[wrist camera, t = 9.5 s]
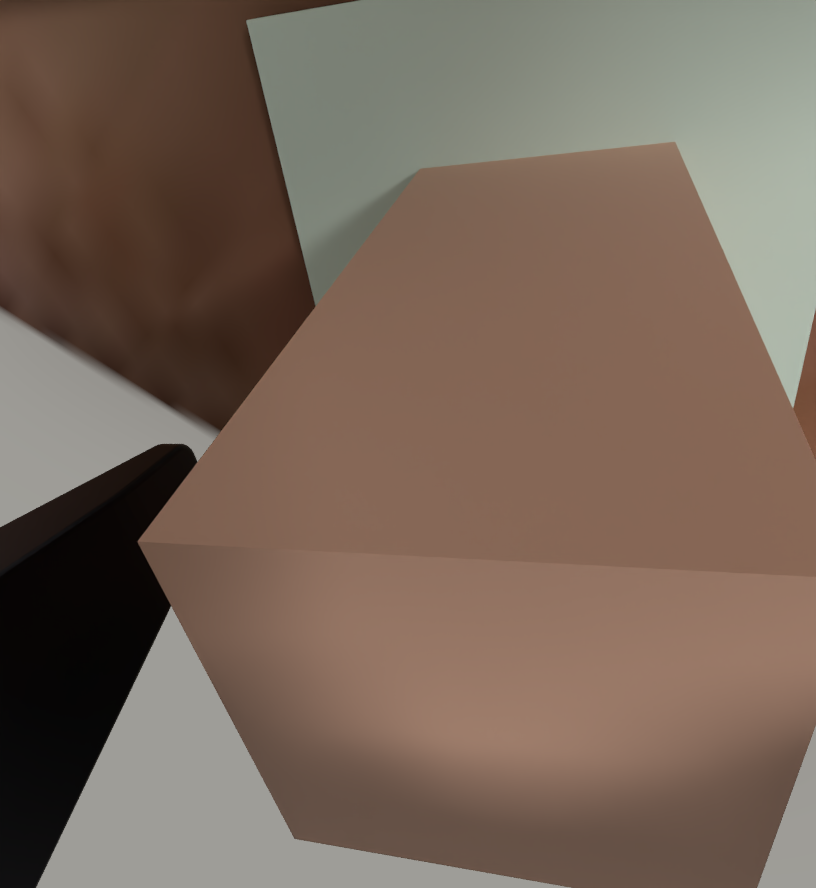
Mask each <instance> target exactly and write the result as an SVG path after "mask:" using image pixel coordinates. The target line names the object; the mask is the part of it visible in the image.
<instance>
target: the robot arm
mask: <svg viewBox="0 0 816 888" xmlns="http://www.w3.org/2000/svg"><path fill="white" fill-rule="evenodd" d="M196 464H197V460H196V458H195V456H194V453H193V451H192V450H191V449H190V448H189V447H188V446H187V445H184V444H160V445H157V446H154V447H153V448H151V449H149V450H147V451H145V452H143V453H141V454H140V455H137V456H135V457H134V458H132V459H130V460H128V461H126V462H124V463H122V464H120V465H118V466H116V467H114V468H113V469H111V470H109V471H107V472H105V473H103V474H101V475H99V476H98V477H95V478H94V479H92V480H90V481H88V482H86V483H84V484H82V485H80V486H78V487H76V488H74V489H72V490H71V491H69V492H67V493H65V494H63V495H61V496H59V497H57V498H55V499H53V500H52V501H50V502H48V503H46V504H44V505H42V506H40V507H38V508H36V509H34V510H32V511H30V512H29V513H27V514H25V515H23V516H21V517H19V518H17V519H15V520H13V521H12V522H10V523H8V524H6V525H4V526H2V527H0V888H36V886H37V884H38V882H39V880H40V878H41V876H42V874H43V872H44V870H45V868H46V866H47V864H48V862H49V859H50V857H51V855H52V853H53V851H54V849H55V847H56V845H57V843H58V841H59V839H60V836H61V834H62V832H63V830H64V828H65V826H66V824H67V822H68V820H69V818H70V816H71V814H72V812H73V809H74V807H75V805H76V803H77V801H78V799H79V797H80V795H81V793H82V791H83V788H84V786H85V784H86V782H87V780H88V778H89V776H90V774H91V772H92V770H93V768H94V766H95V763H96V762H97V759H98V757H99V755H100V753H101V751H102V749H103V747H104V745H105V743H106V741H107V739H108V736H109V734H110V732H111V730H112V728H113V726H114V724H115V722H116V720H117V718H118V716H119V714H120V711H121V709H122V707H123V705H124V703H125V701H126V699H127V697H128V695H129V692H130V691H131V689H132V686H133V684H134V682H135V680H136V678H137V676H138V674H139V672H140V670H141V668H142V666H143V663H144V661H145V659H146V657H147V655H148V653H149V651H150V649H151V647H152V645H153V643H154V640H155V639H156V636H157V634H158V632H159V630H160V628H161V626H162V624H163V622H164V620H165V617H166V615H167V613H168V611H169V609H170V607H171V604H170V602H169V601H168V599H167V597H166V595H165V593H164V591H163V589H162V587H161V585H160V584H159V582H158V580H157V578H156V576H155V574H154V572H153V570H152V568H151V567H150V565H149V563H148V561H147V559H146V557H145V555H144V553H143V551H142V550H141V548H140V546H139V544H138V540H139V539H140V538H141V536H142V535H143V534H144V532H145V531H146V530H147V528H148V527H149V526H150V524H151V523H152V522H153V520H154V519H155V518H156V516H157V515H158V514H159V512H160V511H161V510H162V509H163V507H164V506H165V505H166V503H167V502H168V501H169V499H170V498H171V497H172V495H173V494H174V493H175V491H176V490H177V489H178V487H179V486H180V485H181V483H182V482H183V481H184V479H185V478H186V477H187V476H188V474H189V473H190V472H191V470H192V469H193V468H194V466H195V465H196Z"/></svg>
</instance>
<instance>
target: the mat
mask: <svg viewBox="0 0 816 888" xmlns="http://www.w3.org/2000/svg"><path fill="white" fill-rule="evenodd" d="M246 22H247V26H248V30H249V34H250V38H251V43H252V47H253V51H254V55H255V59H256V63H257V67H258V71H259V76H260V80H261V84H262V88H263V92H264V96H265V100H266V104H267V109H268V113H269V117H270V121H271V125H272V129H273V133H274V137H275V141H276V146H277V150H278V154H279V158H280V162H281V166H282V170H283V174H284V179H285V183H286V187H287V191H288V195H289V199H290V203H291V207H292V211H293V216H294V220H295V224H296V228H297V232H298V236H299V240H300V244H301V249H302V253H303V257H304V261H305V265H306V269H307V273H308V277H309V281H310V286H311V290H312V294H313V298H314V302H315V306H316V305H317V304H318V303H319V301H320V300H321V299H322V297H323V296H324V295H325V293H326V292H327V291H328V289H329V288H330V287H331V286H332V284H333V283H334V282H335V280H336V279H337V278H338V276H339V275H340V274H341V272H342V271H343V270H344V268H345V267H346V266H347V264H348V263H349V262H350V260H351V259H352V258H353V257H354V255H355V254H356V253H357V251H358V250H359V249H360V247H361V246H362V245H363V243H364V242H365V241H366V239H367V238H368V237H369V235H370V234H371V233H372V231H373V230H374V229H375V227H376V226H377V225H378V224H379V222H380V221H381V220H382V218H383V217H384V216H385V214H386V213H387V212H388V210H389V209H390V208H391V206H392V205H393V204H394V202H395V201H396V200H397V198H398V197H399V196H400V195H401V193H402V192H403V191H404V189H405V188H406V187H407V185H408V184H409V183H410V181H411V180H412V179H413V177H414V176H415V175H416V173H417V172H418V171H419V169H422V168H432V167H441V166H451V165H460V164H469V163H479V162H488V161H498V160H507V159H517V158H526V157H535V156H545V155H554V154H564V153H573V152H583V151H592V150H602V149H611V148H620V147H630V146H639V145H649V144H658V143H668V142H675V143H676V145H677V147H678V149H679V152H680V154H681V156H682V158H683V161H684V163H685V165H686V167H687V170H688V172H689V174H690V177H691V179H692V181H693V183H694V186H695V188H696V190H697V192H698V195H699V197H700V199H701V201H702V204H703V206H704V208H705V211H706V213H707V215H708V217H709V220H710V222H711V224H712V226H713V229H714V231H715V233H716V236H717V238H718V240H719V242H720V245H721V247H722V249H723V251H724V254H725V256H726V258H727V260H728V263H729V265H730V267H731V270H732V272H733V274H734V276H735V279H736V281H737V283H738V285H739V288H740V290H741V292H742V294H743V297H744V299H745V301H746V304H747V306H748V308H749V310H750V313H751V315H752V317H753V319H754V322H755V324H756V326H757V328H758V331H759V333H760V335H761V338H762V340H763V342H764V344H765V347H766V349H767V351H768V353H769V356H770V358H771V360H772V363H773V365H774V367H775V369H776V372H777V374H778V376H779V378H780V381H781V383H782V385H783V387H784V390H785V392H786V394H787V397H788V399H789V401H790V403H791V406H792V408H793V407H794V402H795V398H796V393H797V389H798V384H799V380H800V376H801V371H802V367H803V362H804V358H805V353H806V349H807V344H808V340H809V336H810V331H811V327H812V322H813V318H814V313H815V309H816V0H358V1H352V2H347V3H341V4H335V5H329V6H324V7H318V8H312V9H306V10H301V11H295V12H289V13H283V14H278V15H272V16H266V17H260V18H255V19H250V20H246Z"/></svg>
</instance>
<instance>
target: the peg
mask: <svg viewBox="0 0 816 888" xmlns="http://www.w3.org/2000/svg"><path fill="white" fill-rule="evenodd" d="M138 544H139V546H140V548H141V550H142V551H143V553H144V555H145V557H146V559H147V561H148V563H149V565H150V567H151V568H152V570H153V572H154V574H155V576H156V578H157V580H158V582H159V584H160V585H161V587H162V589H163V591H164V593H165V595H166V597H167V599H168V601H169V602H170V604H171V606H172V608H173V610H174V612H175V614H176V616H177V618H178V619H179V621H180V623H181V625H182V627H183V629H184V631H185V633H186V635H187V636H188V638H189V640H190V642H191V644H192V646H193V648H194V650H195V652H196V653H197V655H198V657H199V659H200V661H201V663H202V665H203V667H204V668H205V670H206V672H207V674H208V676H209V678H210V680H211V681H212V684H213V685H214V687H215V689H216V691H217V693H218V695H219V697H220V699H221V700H222V703H223V704H224V706H225V708H226V710H227V712H228V714H229V716H230V717H231V719H232V721H233V723H234V725H235V727H236V729H237V731H238V733H239V734H240V736H241V738H242V740H243V742H244V744H245V746H246V748H247V750H248V752H249V754H250V755H251V757H252V759H253V761H254V763H255V765H256V767H257V769H258V770H259V772H260V774H261V776H262V778H263V780H264V782H265V784H266V786H267V788H268V789H269V791H270V793H271V795H272V797H273V799H274V801H275V803H276V804H277V806H278V808H279V810H280V812H281V814H282V816H283V818H284V820H285V822H286V823H287V825H288V827H289V829H290V831H291V833H292V835H293V837H294V838H295V839H299V840H304V841H310V842H316V843H321V844H327V845H333V846H339V847H344V848H350V849H356V850H361V851H367V852H372V853H378V854H384V855H390V856H395V857H401V858H407V859H412V860H418V861H424V862H429V863H436V864H441V865H447V866H452V867H458V868H463V869H469V870H475V871H480V872H486V873H492V874H497V875H504V876H509V877H514V878H521V879H526V880H532V881H537V882H543V883H549V884H555V885H560V886H565V887H571V888H757V886H758V883H759V881H760V878H761V875H762V872H763V870H764V867H765V864H766V861H767V859H768V856H769V853H770V850H771V848H772V845H773V842H774V839H775V837H776V834H777V831H778V828H779V825H780V823H781V820H782V817H783V814H784V811H785V809H786V806H787V803H788V801H789V798H790V795H791V792H792V789H793V787H794V784H795V781H796V778H797V776H798V773H799V770H800V767H801V765H802V762H803V759H804V756H805V754H806V751H807V748H808V745H809V742H810V740H811V737H812V734H813V731H814V728H815V726H816V460H815V458H814V455H813V453H812V451H811V449H810V446H809V444H808V442H807V440H806V437H805V435H804V433H803V431H802V428H801V426H800V424H799V421H798V419H797V417H796V415H795V412H794V410H793V408H792V406H791V403H790V401H789V399H788V397H787V394H786V392H785V390H784V387H783V385H782V383H781V381H780V378H779V376H778V374H777V372H776V369H775V367H774V365H773V363H772V360H771V358H770V356H769V353H768V351H767V349H766V347H765V344H764V342H763V340H762V338H761V335H760V333H759V331H758V328H757V326H756V324H755V322H754V319H753V317H752V315H751V313H750V310H749V308H748V306H747V304H746V301H745V299H744V297H743V294H742V292H741V290H740V288H739V285H738V283H737V281H736V279H735V276H734V274H733V272H732V270H731V267H730V265H729V263H728V260H727V258H726V256H725V254H724V251H723V249H722V247H721V245H720V242H719V240H718V238H717V236H716V233H715V231H714V229H713V226H712V224H711V222H710V220H709V217H708V215H707V213H706V211H705V208H704V206H703V204H702V201H701V199H700V197H699V195H698V192H697V190H696V188H695V186H694V183H693V181H692V179H691V177H690V174H689V172H688V170H687V167H686V165H685V163H684V161H683V158H682V156H681V154H680V152H679V149H678V147H677V145H676V143H675V142H668V143H658V144H649V145H639V146H630V147H620V148H611V149H602V150H592V151H583V152H573V153H564V154H554V155H545V156H535V157H526V158H517V159H507V160H498V161H488V162H479V163H469V164H460V165H451V166H441V167H432V168H422V169H419V171H418V172H417V173H416V175H415V176H414V177H413V179H412V180H411V181H410V183H409V184H408V185H407V187H406V188H405V189H404V191H403V192H402V193H401V195H400V196H399V197H398V198H397V200H396V201H395V202H394V204H393V205H392V206H391V208H390V209H389V210H388V212H387V213H386V214H385V216H384V217H383V218H382V220H381V221H380V222H379V224H378V225H377V226H376V227H375V229H374V230H373V231H372V233H371V234H370V235H369V237H368V238H367V239H366V241H365V242H364V243H363V245H362V246H361V247H360V249H359V250H358V251H357V253H356V254H355V255H354V257H353V258H352V259H351V260H350V262H349V263H348V264H347V266H346V267H345V268H344V270H343V271H342V272H341V274H340V275H339V276H338V278H337V279H336V280H335V282H334V283H333V284H332V286H331V287H330V288H329V289H328V291H327V292H326V293H325V295H324V296H323V297H322V299H321V300H320V301H319V303H318V304H317V305H316V307H315V308H314V309H313V311H312V312H311V313H310V315H309V316H308V317H307V319H306V320H305V321H304V322H303V324H302V325H301V326H300V328H299V329H298V330H297V332H296V333H295V334H294V336H293V337H292V338H291V340H290V341H289V342H288V344H287V345H286V346H285V348H284V349H283V350H282V352H281V353H280V354H279V355H278V357H277V358H276V359H275V361H274V362H273V363H272V365H271V366H270V367H269V369H268V370H267V371H266V373H265V374H264V375H263V377H262V378H261V379H260V381H259V382H258V383H257V384H256V386H255V387H254V388H253V390H252V391H251V392H250V394H249V395H248V396H247V398H246V399H245V400H244V402H243V403H242V404H241V406H240V407H239V408H238V410H237V411H236V412H235V414H234V415H233V416H232V417H231V419H230V420H229V421H228V423H227V424H226V425H225V427H224V428H223V429H222V431H221V432H220V433H219V435H218V436H217V437H216V439H215V440H214V441H213V443H212V444H211V445H210V447H209V448H208V450H206V452H205V453H204V454H203V456H202V457H201V458H200V460H199V461H198V462H197V464H196V465H195V466H194V468H193V469H192V470H191V472H190V473H189V474H188V476H187V477H186V478H185V479H184V481H183V482H182V483H181V485H180V486H179V487H178V489H177V490H176V491H175V493H174V494H173V495H172V497H171V498H170V499H169V501H168V502H167V503H166V505H165V506H164V507H163V509H162V510H161V511H160V512H159V514H158V515H157V516H156V518H155V519H154V520H153V522H152V523H151V524H150V526H149V527H148V528H147V530H146V531H145V532H144V534H143V535H142V536H141V538H140V539H139V540H138Z"/></svg>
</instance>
